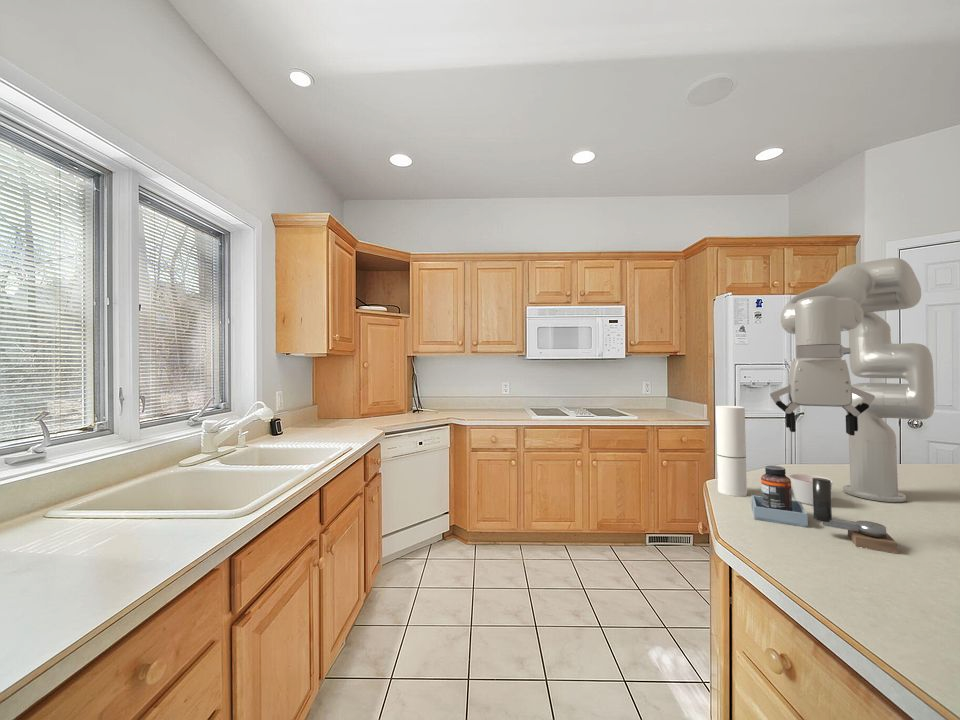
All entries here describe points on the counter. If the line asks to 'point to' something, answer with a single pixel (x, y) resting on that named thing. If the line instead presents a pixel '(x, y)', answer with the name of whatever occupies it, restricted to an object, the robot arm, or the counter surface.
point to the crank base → (873, 542)
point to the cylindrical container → (731, 450)
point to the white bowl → (803, 487)
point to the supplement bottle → (776, 489)
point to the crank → (824, 514)
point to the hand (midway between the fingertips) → (820, 432)
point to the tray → (779, 513)
